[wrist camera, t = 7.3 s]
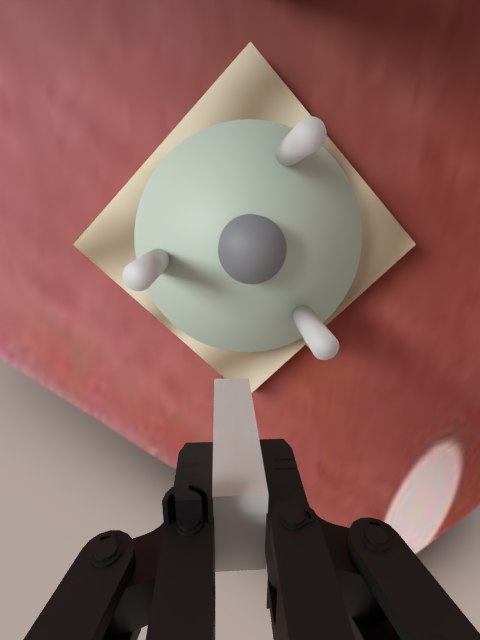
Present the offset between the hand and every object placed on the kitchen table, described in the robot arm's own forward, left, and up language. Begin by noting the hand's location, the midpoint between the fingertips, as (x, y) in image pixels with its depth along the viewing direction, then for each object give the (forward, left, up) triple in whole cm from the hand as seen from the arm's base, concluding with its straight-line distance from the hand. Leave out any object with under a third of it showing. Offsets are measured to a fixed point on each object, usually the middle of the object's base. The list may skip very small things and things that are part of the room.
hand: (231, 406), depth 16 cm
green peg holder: (-3, +5, -13) cm, 14 cm away
